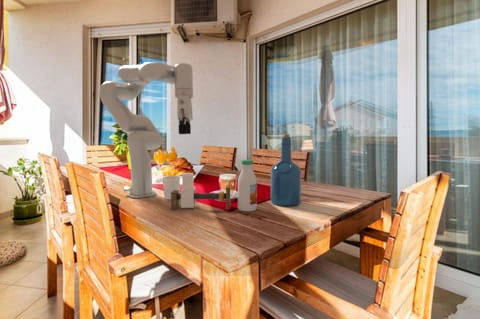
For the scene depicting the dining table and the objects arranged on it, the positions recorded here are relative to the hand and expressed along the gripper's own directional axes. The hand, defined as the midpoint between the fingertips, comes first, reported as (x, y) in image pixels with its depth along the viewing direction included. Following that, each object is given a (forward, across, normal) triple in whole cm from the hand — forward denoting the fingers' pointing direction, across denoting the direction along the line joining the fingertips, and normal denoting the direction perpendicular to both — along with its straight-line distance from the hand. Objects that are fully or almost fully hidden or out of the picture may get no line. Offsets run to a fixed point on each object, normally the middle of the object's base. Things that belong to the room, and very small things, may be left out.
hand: (185, 133), depth 117 cm
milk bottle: (+30, -12, -27) cm, 42 cm away
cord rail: (+30, -10, -8) cm, 33 cm away
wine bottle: (+30, -4, -44) cm, 53 cm away
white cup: (+31, +6, +8) cm, 32 cm away
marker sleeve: (+30, -10, -3) cm, 32 cm away
